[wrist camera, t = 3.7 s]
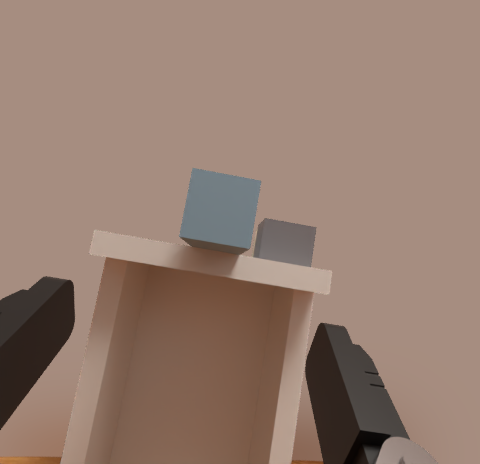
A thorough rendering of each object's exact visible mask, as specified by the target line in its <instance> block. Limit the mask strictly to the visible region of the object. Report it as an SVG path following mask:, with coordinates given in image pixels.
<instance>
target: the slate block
mask: <svg viewBox="0 0 480 464" xmlns="http://www.w3.org/2000/svg"><path fill="white" fill-rule="evenodd" d="M260 185H261V181H259V180H254V179H249V178H244V177H238V176H233V175H227V174H222V173H216V172H211V171H206V170H201V169H195V168H193V169H192V174H191V179H190V184H189V190H188V194H187V200H186V205H185V210H184V215H183V220H182V225H181V230H180V235H179V237H180V238H182V239H183V240H184V241H185V242H187V243H188V244H189V245H190V246H192V247H196V248H202V249H208V250H214V251H220V252H225V253H231V254H237V255H240V254H242V253H244V252H245V251H247V250H249V249H250V246H251V240H252V234H253V228H254V221H255V216H256V210H257V203H258V197H259V191H260Z"/></svg>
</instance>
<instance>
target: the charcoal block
mask: <svg viewBox="0 0 480 464" xmlns="http://www.w3.org/2000/svg"><path fill="white" fill-rule="evenodd" d="M315 234H316V227H311V226H306V225H300V224H295V223H289V222H284V221H278V220H273V219H267V218H265V219H264V220H263V221H262V222H261V223H260V224H259V225H258V230H257V236H256V243H255V249H254V255H253V257H254V258H260V259H266V260H271V261H277V262H283V263H289V264H294V265H300V266H306V267H311V262H312V254H313V248H314V241H315Z"/></svg>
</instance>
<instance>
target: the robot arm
mask: <svg viewBox="0 0 480 464" xmlns="http://www.w3.org/2000/svg"><path fill="white" fill-rule="evenodd" d="M74 322H75V310H74V285H73V282H72V281H71V280H65V279H59V278H53V277H47V276H46V277H43V278H42V279H40V280H39V281H38V282H37V283H36V284H34V285H33V286H32V287H31V288H30V289H29V290H20V291H18V292H16V293H14V294H11V295H9V296H7V297H5V298H3V299H2V300H0V430H1V428H2V427H3V426H4V424H5V423H6V422H7V420H8V419H9V418H10V416H11V415H12V414H13V412H14V411H15V410H16V408H17V406H19V404H20V403H21V401H22V400H23V399H24V398H25V396H26V395H27V394H28V392H29V391H30V389H31V388H32V387H33V386H34V384H35V383H36V382H37V380H38V378H40V376H41V375H42V374H43V372H44V371H45V370H46V368H47V366H49V364H50V363H51V362H52V360H53V359H54V357H55V356H56V355H57V353H58V352H59V351H60V349H61V348H62V347H63V345H64V344H65V343H66V341H67V340H68V339H69V337H70V335H71V333H72V330H73V327H74ZM305 372H306V380H307V385H308V390H309V395H310V400H311V404H312V409H313V414H314V419H315V424H316V429H317V433H318V438H319V443H320V448H321V453H322V458H323V462H324V464H438V462H437V461H436V460H435V459H434V458H433V457H432V456H431V454H429V453H428V452H427V451H426V450H425V449H424V448H422V447H421V446H420V445H418V444H416V443H415V442H413V441H411V440H410V438H409V436H408V434H407V432H406V430H405V428H404V426H403V424H402V421H401V420H400V417H399V415H398V413H397V411H396V409H395V407H394V405H393V403H392V400H391V398H390V396H389V394H388V392H387V390H386V389H384V384H383V382H382V379H381V378H380V376H378V374H379V373H378V371H377V369H376V367H375V365H374V363H373V361H372V359H371V358H370V356H369V355H368V354H367V353H366V352H365V351H364V350H363V349H362V348H361V346H360V345H355V344H352V341H351V339H350V336H349V334H348V332H347V330H346V328H345V327H344V326H339V325H332V324H326V323H320V324H319V326H318V328H317V331H316V333H315V336H314V339H313V342H312V345H311V348H310V351H309V353H308V356H307V360H306V367H305Z"/></svg>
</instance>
